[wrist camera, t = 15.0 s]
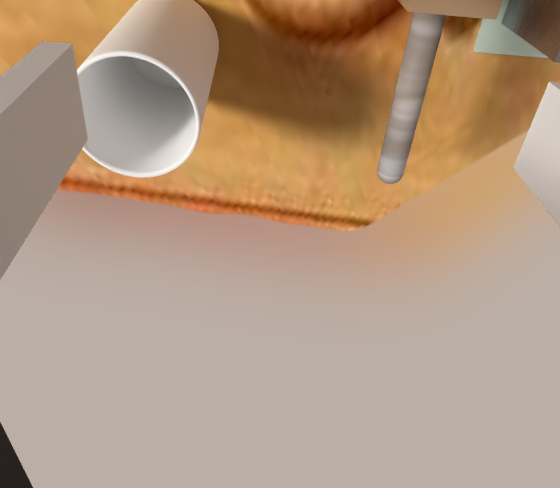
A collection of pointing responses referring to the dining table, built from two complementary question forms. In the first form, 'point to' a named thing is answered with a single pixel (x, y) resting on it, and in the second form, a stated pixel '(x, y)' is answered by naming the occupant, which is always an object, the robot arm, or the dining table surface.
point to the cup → (149, 87)
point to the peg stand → (420, 74)
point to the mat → (502, 38)
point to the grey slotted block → (536, 24)
